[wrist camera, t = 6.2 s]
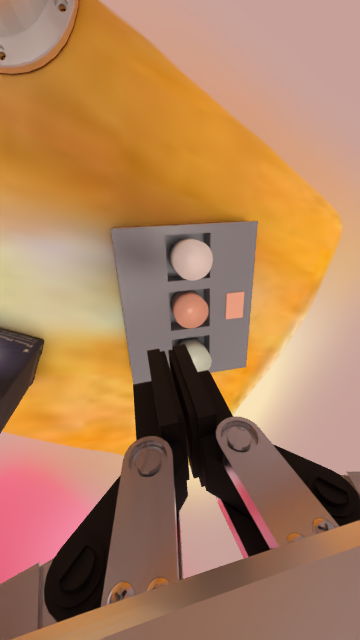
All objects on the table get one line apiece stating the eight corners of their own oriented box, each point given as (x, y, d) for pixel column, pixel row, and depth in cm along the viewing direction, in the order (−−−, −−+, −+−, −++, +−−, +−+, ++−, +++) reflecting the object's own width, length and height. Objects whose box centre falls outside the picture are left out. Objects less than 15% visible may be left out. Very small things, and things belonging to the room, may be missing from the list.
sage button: (174, 340, 27) (178, 351, 25) (204, 336, 28) (211, 347, 26) (176, 367, 29) (180, 379, 26) (205, 362, 29) (211, 374, 27)
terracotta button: (170, 291, 26) (173, 297, 24) (201, 288, 27) (208, 294, 25) (171, 321, 28) (175, 330, 25) (202, 317, 28) (208, 326, 26)
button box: (112, 227, 24) (110, 229, 21) (244, 220, 26) (258, 221, 23) (133, 369, 31) (133, 385, 28) (236, 354, 33) (246, 367, 30)
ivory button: (168, 239, 23) (173, 241, 21) (205, 236, 23) (213, 238, 21) (170, 276, 24) (175, 282, 22) (204, 273, 25) (212, 278, 23)
